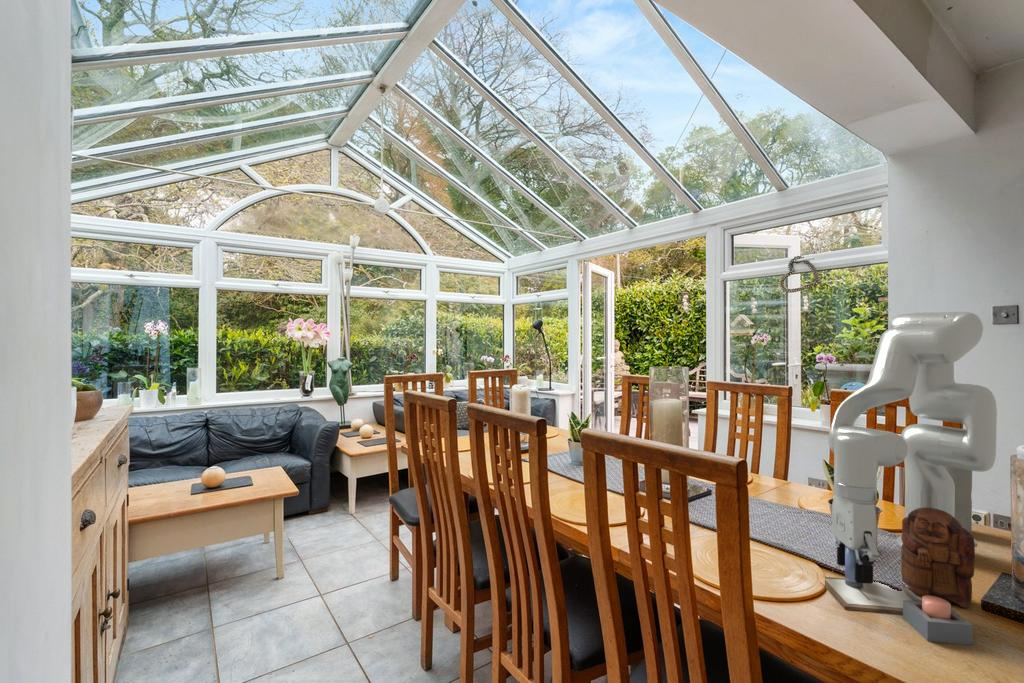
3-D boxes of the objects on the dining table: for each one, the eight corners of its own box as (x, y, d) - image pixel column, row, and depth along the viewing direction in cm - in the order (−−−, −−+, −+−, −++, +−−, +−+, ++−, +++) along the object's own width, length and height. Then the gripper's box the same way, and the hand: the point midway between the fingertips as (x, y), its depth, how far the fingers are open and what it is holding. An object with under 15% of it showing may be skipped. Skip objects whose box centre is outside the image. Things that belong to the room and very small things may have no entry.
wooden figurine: (897, 590, 104) (897, 506, 103) (901, 579, 108) (902, 499, 108) (973, 613, 95) (974, 522, 95) (975, 600, 100) (976, 513, 99)
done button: (940, 614, 91) (940, 596, 91) (956, 627, 87) (956, 608, 87) (916, 612, 92) (916, 594, 92) (931, 625, 88) (931, 606, 88)
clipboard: (897, 584, 106) (897, 579, 106) (935, 616, 94) (935, 610, 94) (817, 579, 109) (817, 573, 109) (844, 609, 97) (844, 603, 97)
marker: (858, 581, 106) (858, 544, 106) (866, 588, 103) (866, 551, 103) (842, 580, 107) (842, 544, 106) (849, 587, 103) (849, 550, 103)
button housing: (944, 621, 93) (944, 603, 92) (972, 644, 86) (972, 625, 86) (902, 617, 94) (902, 600, 94) (927, 640, 87) (927, 621, 87)
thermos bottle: (958, 526, 137) (959, 427, 137) (979, 538, 129) (980, 433, 129) (925, 524, 139) (926, 426, 138) (944, 535, 131) (945, 432, 130)
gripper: (817, 478, 113) (817, 554, 114) (857, 504, 96) (856, 593, 97) (853, 479, 112) (852, 556, 113) (899, 506, 95) (898, 596, 95)
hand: (854, 573), depth 105 cm, fingers open, 6 cm apart
